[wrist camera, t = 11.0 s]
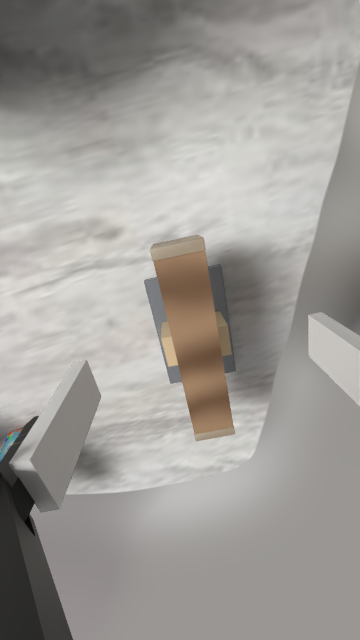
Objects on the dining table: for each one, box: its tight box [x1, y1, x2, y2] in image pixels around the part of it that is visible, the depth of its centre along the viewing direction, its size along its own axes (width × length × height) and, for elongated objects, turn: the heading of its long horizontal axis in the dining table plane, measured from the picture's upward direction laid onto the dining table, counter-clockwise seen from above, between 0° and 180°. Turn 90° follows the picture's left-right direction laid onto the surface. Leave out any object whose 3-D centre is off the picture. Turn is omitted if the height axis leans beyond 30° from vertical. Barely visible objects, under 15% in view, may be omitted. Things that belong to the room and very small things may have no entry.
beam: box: [150, 235, 235, 441], centre depth 28 cm, size 22×5×5 cm, turn 12°
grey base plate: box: [144, 264, 236, 383], centre depth 33 cm, size 16×10×6 cm, turn 12°
